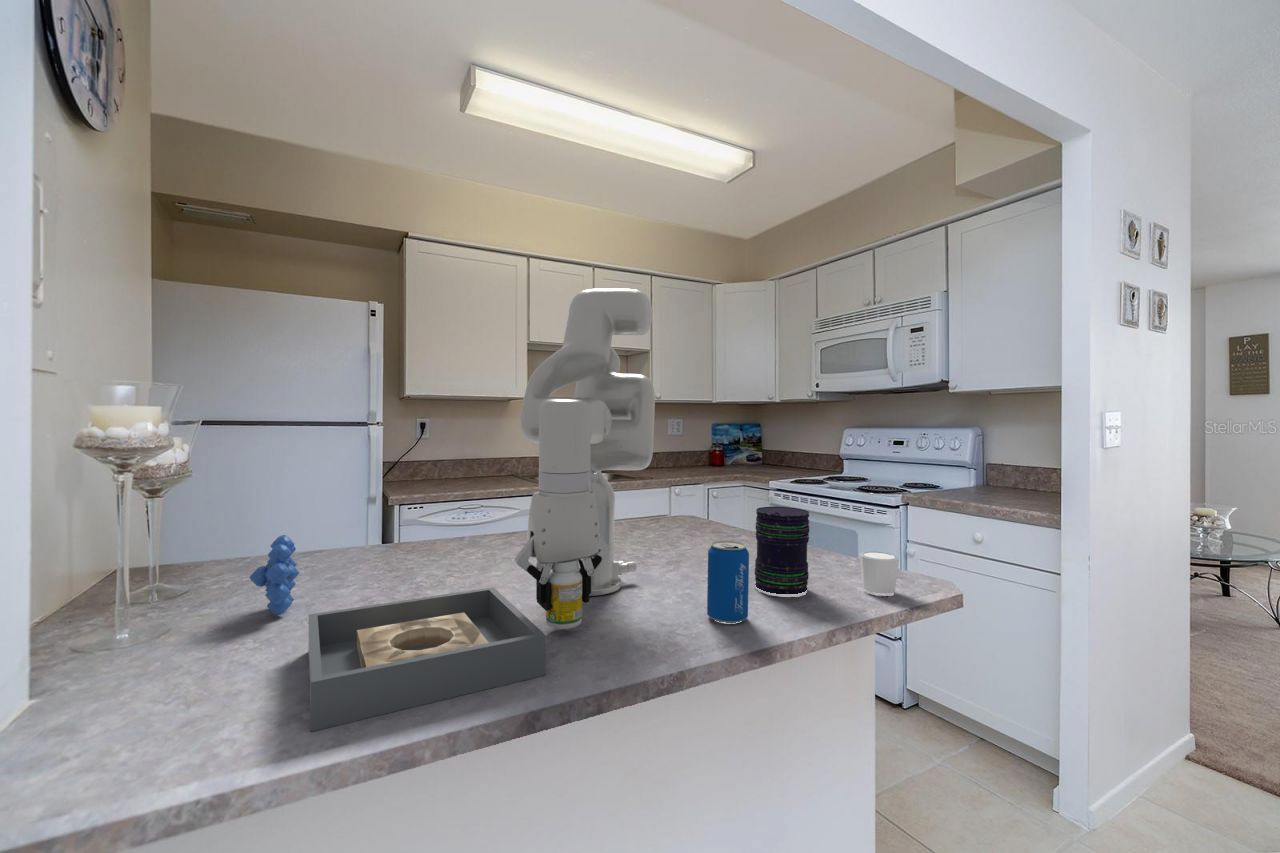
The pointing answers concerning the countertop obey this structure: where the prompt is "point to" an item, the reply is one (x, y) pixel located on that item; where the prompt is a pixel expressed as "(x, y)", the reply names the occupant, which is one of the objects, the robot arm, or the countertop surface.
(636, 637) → the countertop surface
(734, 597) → the beverage can
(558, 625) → the supplement bottle
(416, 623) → the bore plate
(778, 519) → the storage jar
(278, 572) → the grapes
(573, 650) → the countertop surface
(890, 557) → the white short cylinder
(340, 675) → the open box
